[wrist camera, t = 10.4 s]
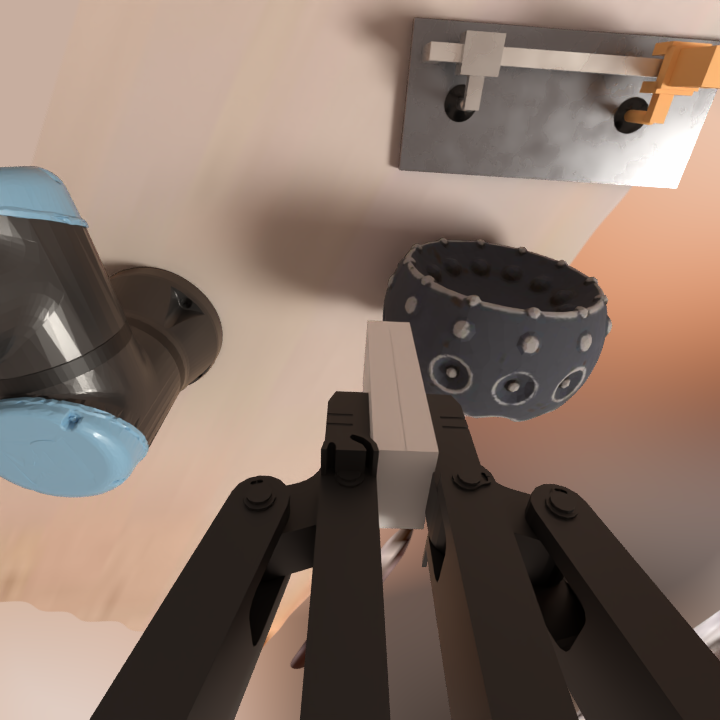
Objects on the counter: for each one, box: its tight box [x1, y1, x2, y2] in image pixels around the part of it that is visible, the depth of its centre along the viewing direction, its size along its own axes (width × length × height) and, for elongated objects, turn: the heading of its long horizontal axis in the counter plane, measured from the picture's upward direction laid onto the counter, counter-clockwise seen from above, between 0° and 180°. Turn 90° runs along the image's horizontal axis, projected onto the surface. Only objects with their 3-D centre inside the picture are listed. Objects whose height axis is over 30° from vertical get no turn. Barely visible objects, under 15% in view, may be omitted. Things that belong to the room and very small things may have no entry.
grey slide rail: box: [422, 30, 664, 112], centre depth 38 cm, size 26×5×7 cm, turn 86°
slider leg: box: [624, 41, 720, 125], centre depth 36 cm, size 3×6×10 cm, turn 177°
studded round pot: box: [383, 238, 612, 421], centre depth 43 cm, size 11×20×20 cm, turn 84°
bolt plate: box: [399, 18, 720, 188], centre depth 42 cm, size 28×12×1 cm, turn 86°
